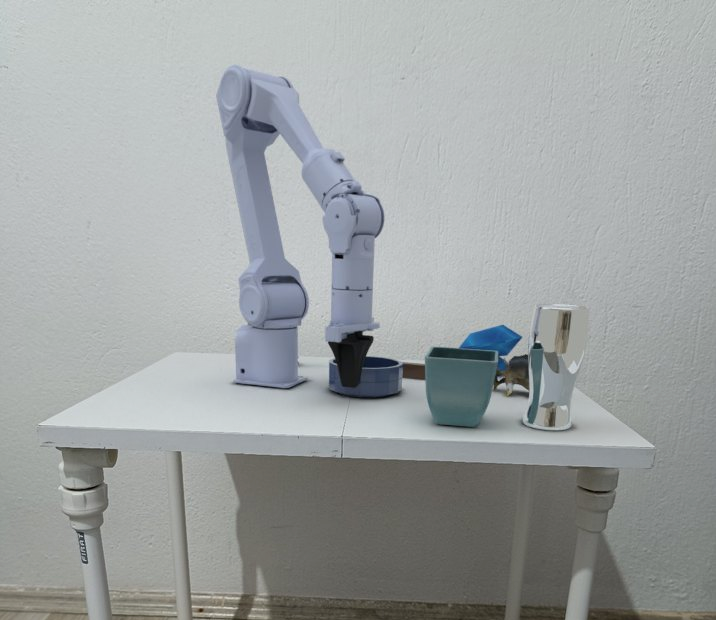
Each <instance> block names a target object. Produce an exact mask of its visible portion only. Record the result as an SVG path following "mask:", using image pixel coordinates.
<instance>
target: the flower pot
mask: <svg viewBox="0 0 716 620" xmlns="http://www.w3.org/2000/svg"><path fill="white" fill-rule="evenodd" d="M498 353H499V352H498V351H492V350H477V349H461V348H459V347H448V346H447V347H446V346H431V347H430V348H429V350H428V352H427V353H426V354H425V356H424V364H425V380H424V381H425V395H426V402H427V405H428V408H429V412H430V414H431V416H432V418H433V420H434V422H435V423H436V424H437V425H440V426H443V425H444V426H445V425H446V426H457V427H467V428H475V427H477V426H478V424H479V423H480V422H481V420H482V418H483V417H484V415H485V414H486V411H487V409H488V406H489V404H490V401H491V398H492V393H493V390H494V389H493V387H494V385H493V384H494V379H495V374H496V369H497V365H498Z"/></svg>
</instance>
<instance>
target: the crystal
mask: <svg viewBox="0 0 716 620" xmlns="http://www.w3.org/2000/svg"><path fill="white" fill-rule="evenodd" d="M522 339H523V336H522V335H521V334H519V333H517V332H516V331H514V330H513V329H511V328H509V327H508V326H506V325H505V324H500V325H497V326H492V327H489V328H485V329H481V330H478V331H474V332H471V333H469V334H468V335H467V337H466V338H465V339H464V340H463V341H462V343H461V345H460V346H459V347H458V348H461V349H477V350H492V351H498V352H499V353H498V365H497V367H498V368H499V371H501V370H506V369H507V365H506V364H505V362H504V358H502V357H507V356H509V354H510V353H511V352H512V351H513V349H514V348H515V347H516V346H517V345H518V344H519V342H520V341H521V340H522ZM507 363H508V364H509V361H507ZM499 376H500V375H497V377H499Z"/></svg>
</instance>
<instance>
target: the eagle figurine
mask: <svg viewBox="0 0 716 620" xmlns="http://www.w3.org/2000/svg"><path fill="white" fill-rule="evenodd" d="M503 359H504V362H505V364H506V365H507V369H506V370H501V371H499V368H498V367H497V369H496V374H495V379H494V384H493V389H492V390H494V391H496V390H497V389H498V386H500V385H502V384H505V387H506V397H509V396H510V394H512V393H513V389H514V385H519V386H522V387H523V388H525V390H527V391H528V392H529V369H528V354H526V353H525V354H523V355H514V356H513V357H512V358H510V360H508V361H507V360H506V357H503ZM507 362H508V363H509V364H508V363H507ZM497 375H499V376H503V377H502V378H501V379H499V380H498V376H497Z"/></svg>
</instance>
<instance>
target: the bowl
mask: <svg viewBox="0 0 716 620" xmlns="http://www.w3.org/2000/svg"><path fill="white" fill-rule="evenodd" d="M402 362H403V361H401V360H398V359H395V358H390V357H383V356H376V355H375V356H373V355H366V357H365V360H364V364H363V368H362V372H361V376H360V380H359V383H358V386H357V387H356V388H350V387H342V385H341V381H340V377H339V372H338V367H337V363H336V360H335V357H333V358H331V359H329V360H328V389H329V390H331V391H333V392H336V393H337V394H340V395H341V396H342V395H343V396H347V397H352V398H353V397H354V398H368V399H369V398H371V399H372V398H384V397H389V396H392V395H394V394H397V393H400V392H401V391H402V390H403V378H402V376H403V363H402Z"/></svg>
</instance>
